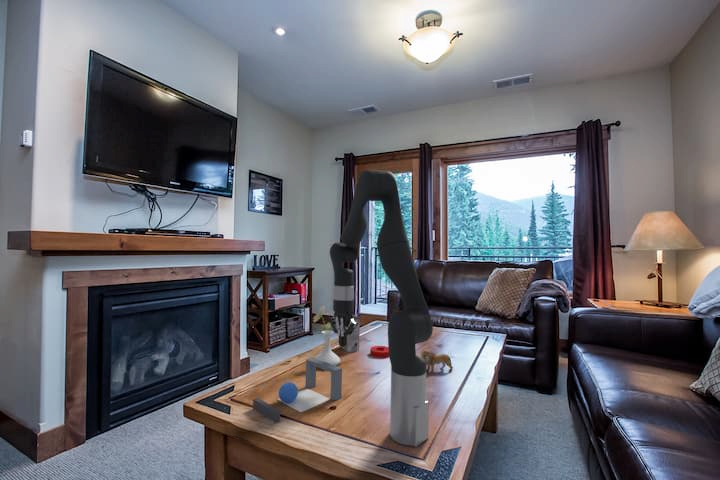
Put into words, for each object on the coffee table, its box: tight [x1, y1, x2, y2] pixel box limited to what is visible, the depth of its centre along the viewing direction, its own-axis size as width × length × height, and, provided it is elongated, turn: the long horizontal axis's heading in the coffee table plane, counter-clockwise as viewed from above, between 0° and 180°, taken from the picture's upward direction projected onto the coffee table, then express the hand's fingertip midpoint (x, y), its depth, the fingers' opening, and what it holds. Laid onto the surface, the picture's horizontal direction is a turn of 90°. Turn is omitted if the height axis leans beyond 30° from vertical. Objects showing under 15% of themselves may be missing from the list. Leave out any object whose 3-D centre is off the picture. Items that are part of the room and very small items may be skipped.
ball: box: [278, 381, 299, 403], centre depth 107 cm, size 6×6×6 cm
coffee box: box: [341, 313, 361, 353], centre depth 165 cm, size 9×6×16 cm
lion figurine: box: [420, 349, 454, 374], centre depth 138 cm, size 15×5×9 cm, turn 110°
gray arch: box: [304, 357, 343, 402], centre depth 115 cm, size 3×15×10 cm, turn 47°
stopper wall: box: [252, 397, 281, 424], centre depth 99 cm, size 12×2×3 cm, turn 48°
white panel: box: [277, 387, 331, 413], centre depth 109 cm, size 12×12×1 cm
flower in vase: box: [312, 305, 341, 366], centre depth 141 cm, size 13×11×25 cm
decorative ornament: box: [369, 345, 389, 359], centre depth 157 cm, size 10×10×3 cm
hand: (342, 346), depth 122 cm, fingers closed
